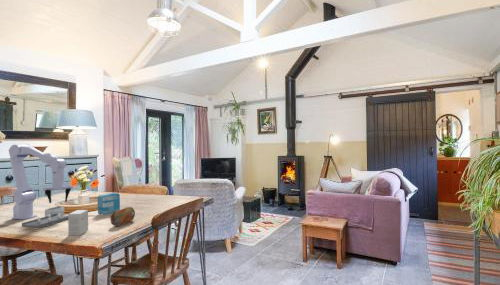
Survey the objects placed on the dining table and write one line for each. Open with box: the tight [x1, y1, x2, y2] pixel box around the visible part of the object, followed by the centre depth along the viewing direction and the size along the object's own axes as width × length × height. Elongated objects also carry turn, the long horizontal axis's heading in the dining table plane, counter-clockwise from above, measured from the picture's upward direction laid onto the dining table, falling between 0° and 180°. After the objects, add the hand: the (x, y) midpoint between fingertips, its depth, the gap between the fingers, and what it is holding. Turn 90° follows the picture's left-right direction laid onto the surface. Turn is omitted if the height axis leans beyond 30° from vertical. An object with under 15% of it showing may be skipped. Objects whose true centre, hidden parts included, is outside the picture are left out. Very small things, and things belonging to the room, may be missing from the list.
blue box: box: [97, 192, 121, 216], centre depth 173 cm, size 12×4×12 cm, turn 146°
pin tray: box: [21, 214, 68, 229], centre depth 154 cm, size 13×20×3 cm, turn 166°
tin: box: [110, 206, 136, 227], centre depth 149 cm, size 15×3×8 cm, turn 160°
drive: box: [44, 205, 65, 217], centre depth 167 cm, size 4×9×5 cm, turn 166°
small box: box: [67, 209, 89, 237], centre depth 135 cm, size 8×6×10 cm
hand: (58, 202), depth 162 cm, fingers open, 7 cm apart
